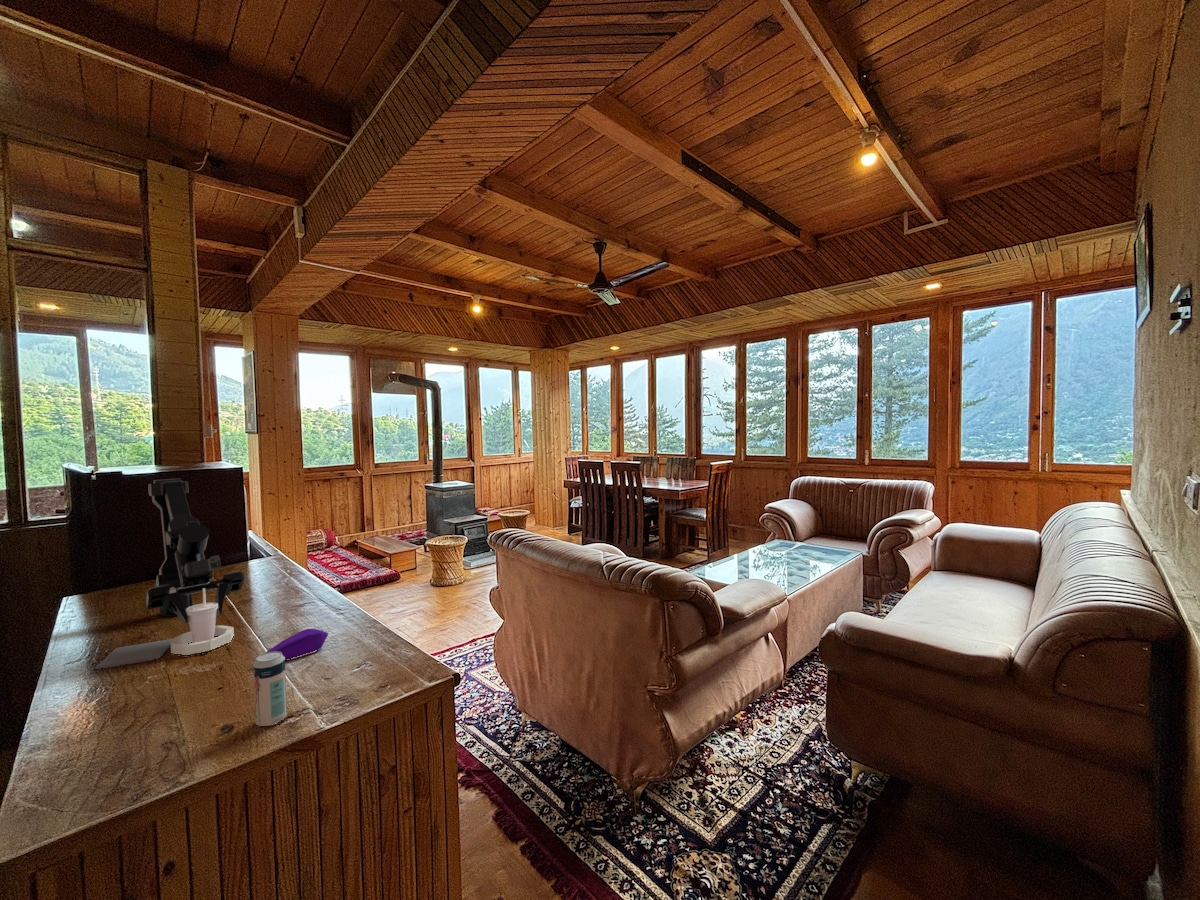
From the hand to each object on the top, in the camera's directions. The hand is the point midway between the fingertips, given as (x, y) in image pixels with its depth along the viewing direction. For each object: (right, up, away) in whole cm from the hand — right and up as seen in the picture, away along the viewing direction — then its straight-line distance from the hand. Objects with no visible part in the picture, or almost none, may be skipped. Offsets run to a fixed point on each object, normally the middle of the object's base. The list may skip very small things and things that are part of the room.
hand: (203, 618), depth 120 cm
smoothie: (-1, -7, +1) cm, 7 cm away
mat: (-13, -7, -4) cm, 15 cm away
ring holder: (-1, -7, +1) cm, 7 cm away
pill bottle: (+37, -8, -31) cm, 49 cm away
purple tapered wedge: (+25, -7, -5) cm, 27 cm away
